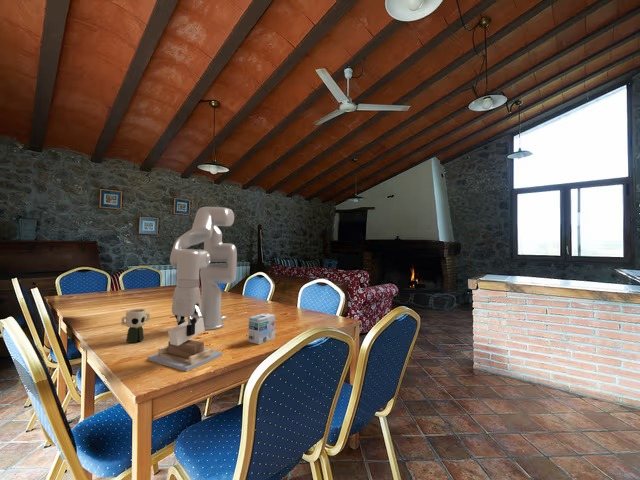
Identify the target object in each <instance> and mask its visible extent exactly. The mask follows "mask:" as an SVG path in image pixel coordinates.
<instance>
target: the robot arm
mask: <svg viewBox="0 0 640 480" xmlns="http://www.w3.org/2000/svg"><path fill="white" fill-rule="evenodd" d="M234 221H235V213H234V211H233V210H232V209H231V208H228V207H220V206H203V207H200V208H199V209H198V210H197V211H196V214H195V217H194V220H193V224H192V227H191V229H190V230H187V231H186V232H185V233H183V234H182V235H180V236H179V237H178V238H177V239H176V240H175V241H174V243H173V246H172V249H171V251H170V252H171V253H170V257H169V263H170V265H171V266H172V267H173V268H175V269H176V287H175V288H174V290H173V295H172V305H171V313H172V315H174V318H175V319H176V323H177V326H178V325H180V324H182V323H184V322H186V321H188V325H187V336H191V335H194V334H195V324H196V323H197V321H198V319H200V318H203V321H204V328H205V330H204V331H208V330H209V331H211V330H218V329H220V328H222V327H224V322H223V321H224V320H227V318H228V316H227V314H226V315H223V316H222V315H221V313H222V290H221V288H220V286H219V285H218V284H233V283H234V282H235V281H236V280H237V269H238V267H237V266H238V265H237V264H238V263H237V262H238V253H237V252H238V250H237V247H236V245H235V244H233V243H227V242H224V243H223V233H222V231H221V229H220V228H219V227H232V225H233V224H234ZM201 243H203V245H204V246H203V249H193V248H190V247H192V246H195V245H199V244H201ZM189 248H190V249H189ZM211 262H215V263H211ZM216 262H217V263H218V262H220V263H221V262H222V263H221V264H219V263H218V264H216ZM223 263H227V264H223ZM200 284H201V290H200ZM186 318H187V320H186ZM192 318H193V319H192ZM191 319H192V320H191Z"/></svg>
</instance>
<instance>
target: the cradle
mask: <svg viewBox="0 0 640 480" xmlns="http://www.w3.org/2000/svg"><path fill="white" fill-rule="evenodd" d="M207 349H208V350H205V351H203V352H200V353H198V354H195V355H193V356H190V357H189V360H187V359H183V358H180V357H176V356H172V355H169V354H168V345H166V346H163V347H160V348H158V350H157V353H158V356H161V357H164V358H168V359H171V360H175V361H178V362H182V363H186V364H189V365H193V364H195V363H197V362H200V361H202V360H204V359H207V358H209V357H211V356H212V355H213V350H214V349H213V348H207Z"/></svg>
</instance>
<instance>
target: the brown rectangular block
mask: <svg viewBox="0 0 640 480" xmlns="http://www.w3.org/2000/svg"><path fill="white" fill-rule="evenodd" d="M167 346H168V354H169V355H172V356H176V357H180V358H184V359H189V357H190V356H193V355H195V354H198V353H200V352H203V351H204V348H205V342H204V341H199V340H192V339H189V340H187V341H185V342H184V343H182V344H180V345H179V346H176V345H172V344H170V340H169V341H168V345H167Z"/></svg>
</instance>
